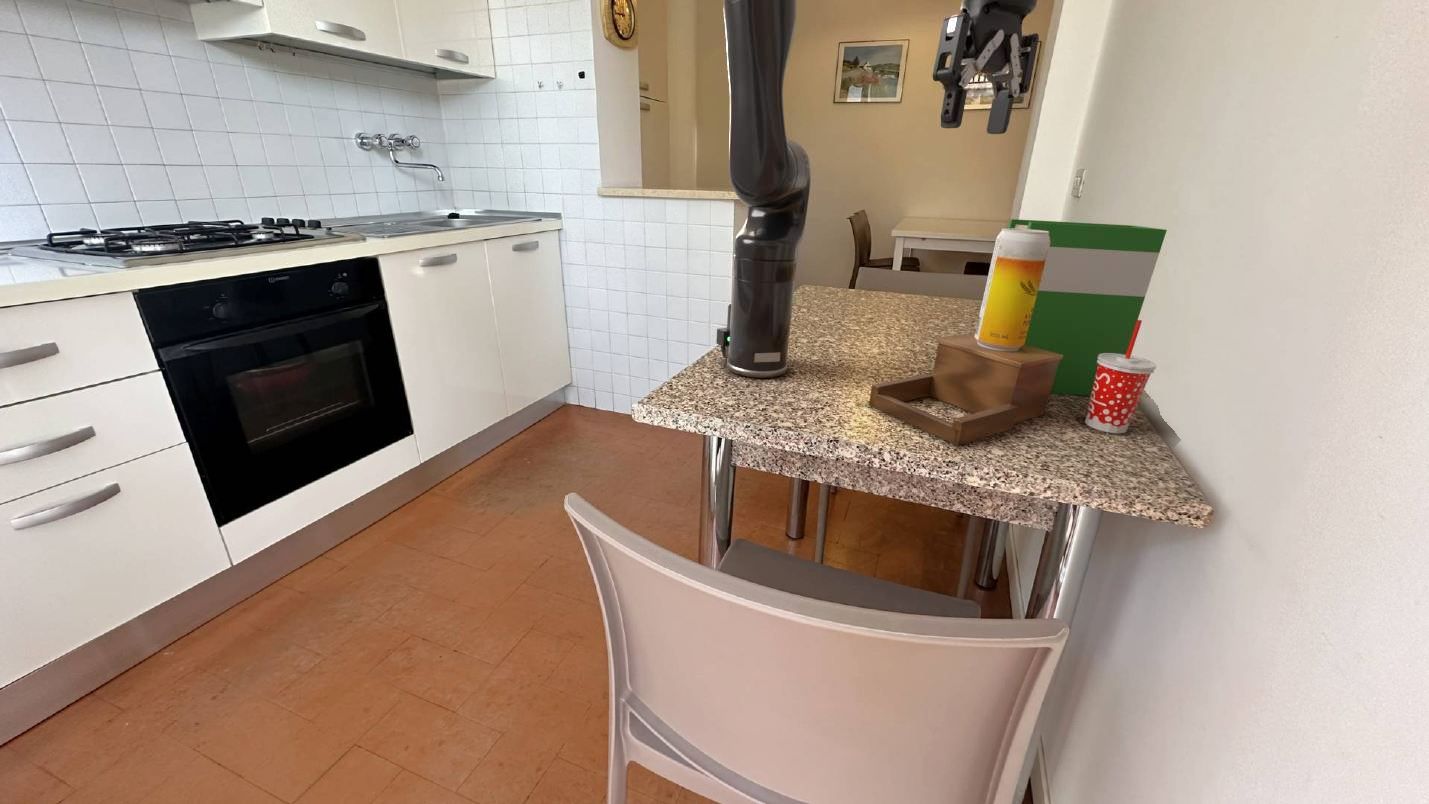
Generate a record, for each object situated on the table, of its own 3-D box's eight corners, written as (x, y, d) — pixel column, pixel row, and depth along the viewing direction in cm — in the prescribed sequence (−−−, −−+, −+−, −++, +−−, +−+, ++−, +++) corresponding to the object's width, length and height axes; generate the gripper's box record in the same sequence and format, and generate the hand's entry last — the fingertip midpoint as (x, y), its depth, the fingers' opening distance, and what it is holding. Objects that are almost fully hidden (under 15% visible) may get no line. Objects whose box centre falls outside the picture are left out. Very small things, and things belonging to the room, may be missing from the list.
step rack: (868, 405, 77) (877, 345, 74) (962, 384, 87) (974, 330, 84) (957, 446, 66) (972, 377, 63) (1052, 416, 77) (1069, 356, 73)
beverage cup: (1075, 413, 78) (1106, 312, 73) (1128, 422, 76) (1164, 319, 71) (1080, 429, 73) (1114, 321, 68) (1137, 439, 70) (1176, 329, 65)
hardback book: (991, 388, 86) (1031, 222, 77) (974, 373, 93) (1009, 219, 84) (1112, 396, 85) (1167, 229, 76) (1086, 380, 92) (1133, 225, 83)
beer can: (1028, 354, 73) (1060, 233, 68) (978, 349, 74) (1005, 230, 69) (1015, 342, 79) (1043, 229, 73) (969, 338, 80) (993, 226, 74)
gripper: (1012, -16, 67) (982, 136, 73) (932, -46, 59) (906, 127, 65) (1078, -33, 61) (1039, 135, 67) (998, -68, 54) (963, 124, 59)
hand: (973, 130), depth 66 cm, fingers open, 8 cm apart
